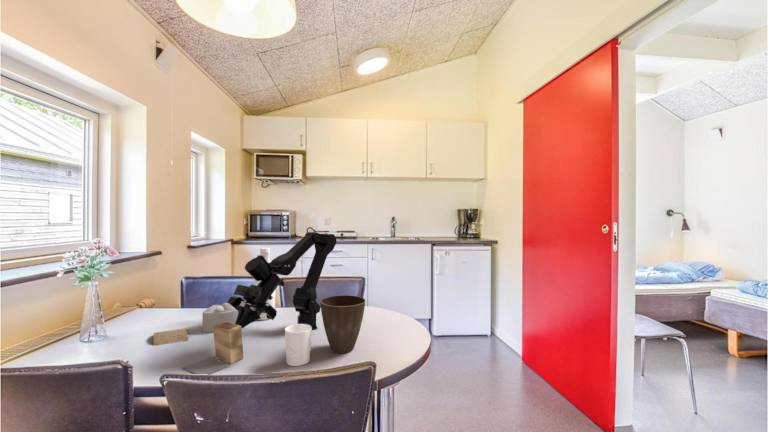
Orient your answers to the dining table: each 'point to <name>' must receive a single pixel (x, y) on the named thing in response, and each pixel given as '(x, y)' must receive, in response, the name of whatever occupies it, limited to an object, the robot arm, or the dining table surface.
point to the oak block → (228, 342)
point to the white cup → (298, 344)
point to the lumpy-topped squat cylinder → (218, 316)
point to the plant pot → (342, 321)
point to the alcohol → (266, 254)
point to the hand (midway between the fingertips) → (234, 331)
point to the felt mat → (206, 366)
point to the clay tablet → (170, 336)
